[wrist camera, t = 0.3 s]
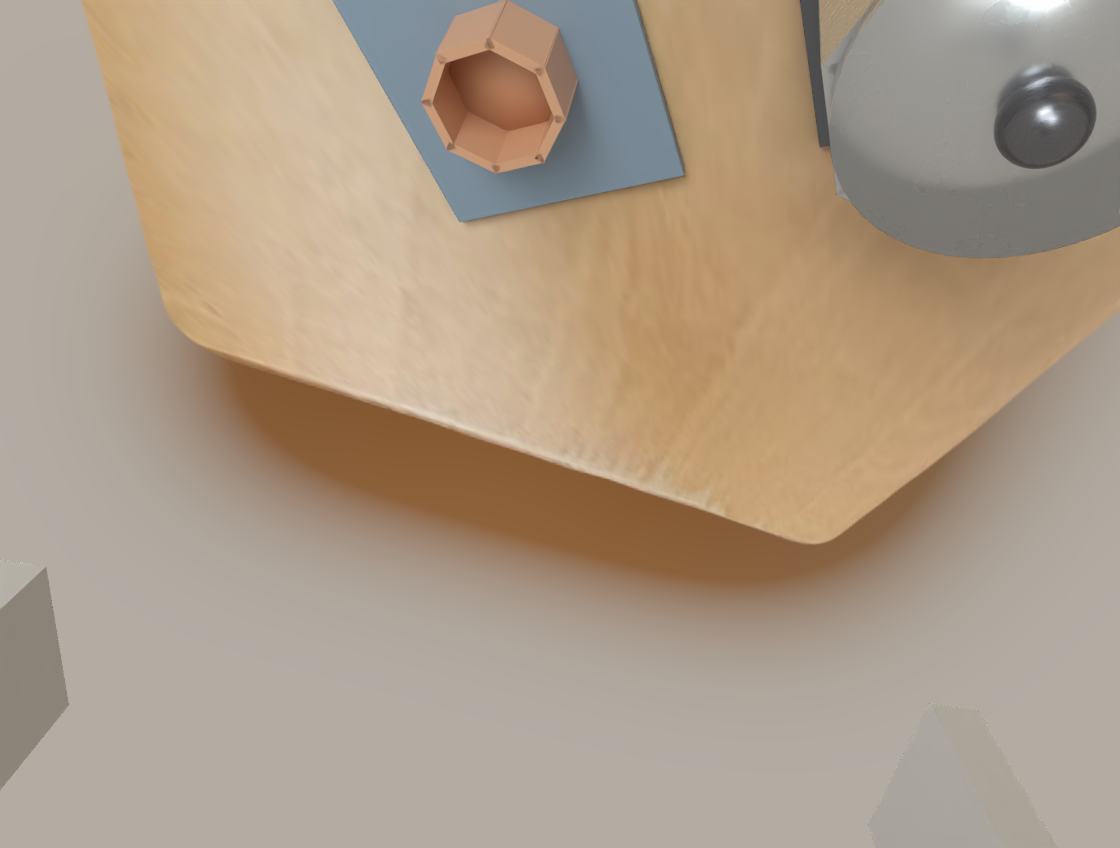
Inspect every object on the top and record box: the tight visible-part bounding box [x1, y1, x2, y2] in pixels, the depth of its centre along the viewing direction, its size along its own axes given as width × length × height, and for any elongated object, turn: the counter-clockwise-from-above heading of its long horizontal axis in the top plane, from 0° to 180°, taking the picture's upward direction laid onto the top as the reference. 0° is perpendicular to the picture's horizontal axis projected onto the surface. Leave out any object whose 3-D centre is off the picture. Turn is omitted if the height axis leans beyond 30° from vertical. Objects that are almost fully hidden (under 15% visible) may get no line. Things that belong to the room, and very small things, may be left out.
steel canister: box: [819, 0, 1120, 258], centre depth 26 cm, size 12×12×14 cm
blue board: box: [333, 0, 685, 222], centre depth 39 cm, size 16×14×1 cm
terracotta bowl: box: [421, 0, 578, 174], centre depth 38 cm, size 7×7×4 cm
